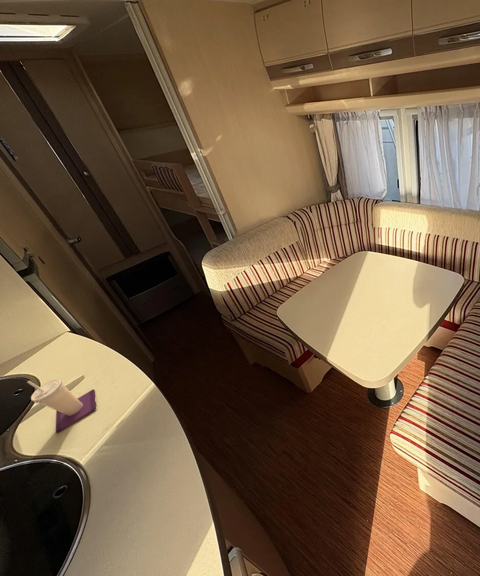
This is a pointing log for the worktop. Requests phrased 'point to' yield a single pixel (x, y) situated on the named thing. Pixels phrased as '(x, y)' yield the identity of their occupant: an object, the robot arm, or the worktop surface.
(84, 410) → the towel mat
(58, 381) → the smoothie
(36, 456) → the worktop surface
